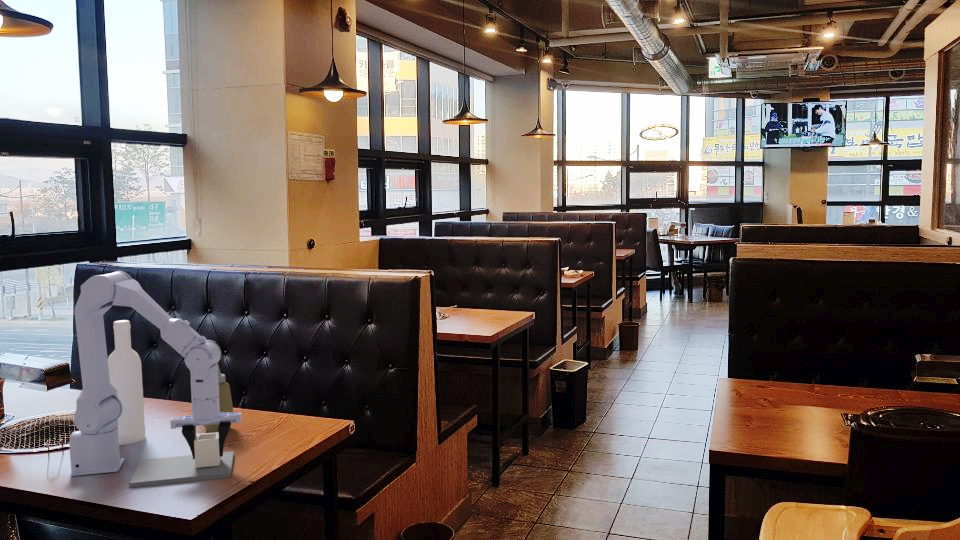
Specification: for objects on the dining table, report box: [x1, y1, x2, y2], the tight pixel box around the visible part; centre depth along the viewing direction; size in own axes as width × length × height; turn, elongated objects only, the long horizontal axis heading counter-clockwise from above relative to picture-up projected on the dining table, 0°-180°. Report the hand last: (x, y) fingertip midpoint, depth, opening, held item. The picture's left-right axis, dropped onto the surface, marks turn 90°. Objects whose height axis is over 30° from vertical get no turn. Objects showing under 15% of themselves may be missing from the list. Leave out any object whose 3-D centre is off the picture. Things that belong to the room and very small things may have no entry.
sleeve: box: [194, 432, 221, 468], centre depth 163 cm, size 5×5×6 cm
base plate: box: [128, 450, 235, 489], centre depth 162 cm, size 20×14×4 cm
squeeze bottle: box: [203, 361, 235, 433], centre depth 189 cm, size 8×8×18 cm
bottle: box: [108, 319, 146, 446], centre depth 181 cm, size 8×8×30 cm
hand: (208, 456), depth 163 cm, fingers closed on sleeve, 5 cm apart
